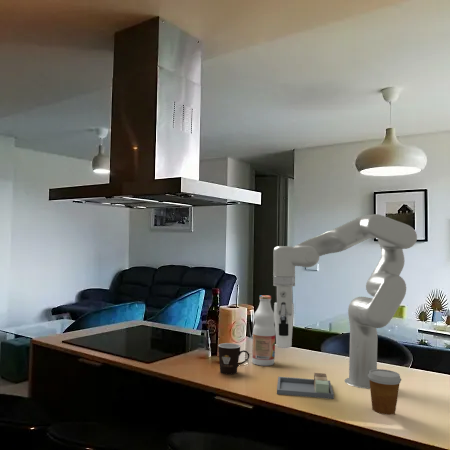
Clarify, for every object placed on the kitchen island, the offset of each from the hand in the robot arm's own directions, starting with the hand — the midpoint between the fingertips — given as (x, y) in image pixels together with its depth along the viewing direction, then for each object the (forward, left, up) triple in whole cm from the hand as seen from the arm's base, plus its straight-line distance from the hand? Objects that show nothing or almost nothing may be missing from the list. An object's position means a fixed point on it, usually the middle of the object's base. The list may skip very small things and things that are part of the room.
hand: (284, 333), depth 155 cm
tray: (-7, +2, -19) cm, 20 cm away
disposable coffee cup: (-30, +16, -19) cm, 39 cm away
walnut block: (-13, -2, -18) cm, 22 cm away
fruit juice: (+9, -32, -19) cm, 38 cm away
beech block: (-13, +2, -18) cm, 22 cm away
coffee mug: (+20, -14, -19) cm, 31 cm away
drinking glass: (0, 0, -5) cm, 5 cm away
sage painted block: (-13, +7, -18) cm, 23 cm away
